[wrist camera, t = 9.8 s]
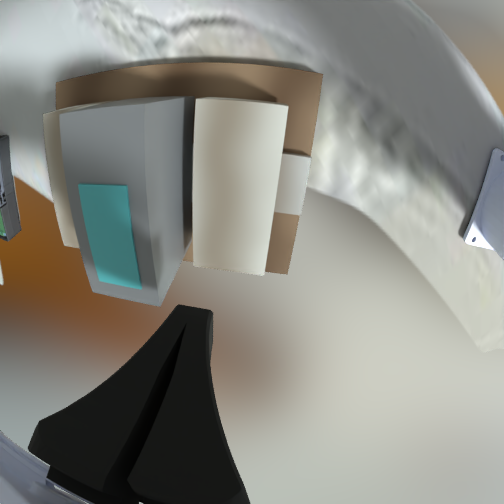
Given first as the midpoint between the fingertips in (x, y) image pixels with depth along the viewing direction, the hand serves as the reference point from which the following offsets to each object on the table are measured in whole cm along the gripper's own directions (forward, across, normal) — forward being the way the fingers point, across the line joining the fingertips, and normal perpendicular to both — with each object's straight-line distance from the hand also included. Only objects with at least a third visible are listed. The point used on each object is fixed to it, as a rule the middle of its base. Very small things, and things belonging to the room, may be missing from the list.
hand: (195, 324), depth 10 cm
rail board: (+9, +4, -3) cm, 11 cm away
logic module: (+8, +4, -3) cm, 9 cm away
